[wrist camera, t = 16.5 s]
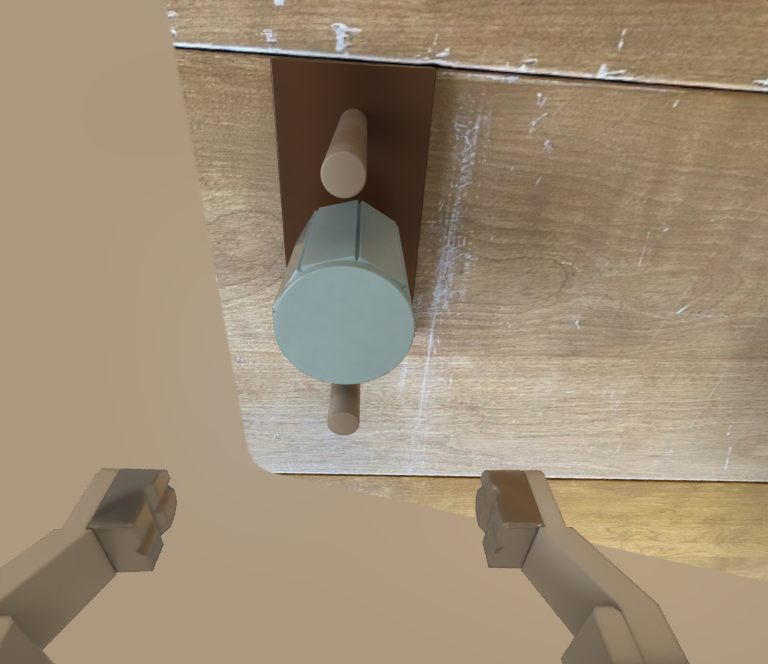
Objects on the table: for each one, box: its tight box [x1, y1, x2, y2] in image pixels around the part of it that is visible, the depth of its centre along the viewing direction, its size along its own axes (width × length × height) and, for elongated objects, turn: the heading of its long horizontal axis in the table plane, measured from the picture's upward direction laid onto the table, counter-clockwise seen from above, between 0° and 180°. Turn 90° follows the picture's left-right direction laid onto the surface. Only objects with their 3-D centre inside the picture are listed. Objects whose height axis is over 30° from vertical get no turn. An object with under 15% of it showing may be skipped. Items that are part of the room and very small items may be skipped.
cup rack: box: [270, 58, 436, 435], centre depth 24 cm, size 9×18×14 cm, turn 177°
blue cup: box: [272, 200, 416, 384], centre depth 21 cm, size 6×6×8 cm
